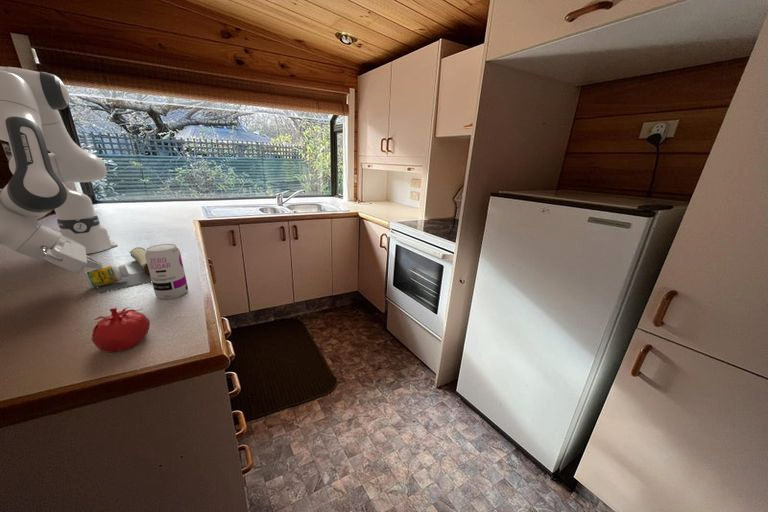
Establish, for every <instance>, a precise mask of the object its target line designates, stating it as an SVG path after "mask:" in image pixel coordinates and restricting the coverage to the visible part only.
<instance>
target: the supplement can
mask: <svg viewBox="0 0 768 512" xmlns="http://www.w3.org/2000/svg"><path fill="white" fill-rule="evenodd" d="M145 250H146V253H145V257H146V261H147V265H148V269H149V273H150V276H151V280H152V282H151V283H152V288H153V291H154V294H155V297H156V298H159V299H160V300H171V299H172V298H173V299H176V297H177V298H179V297H178V296H180V297H182V296H184V295H185V294H186V293H187V292H188V290H189V287H188V283H187V281H188V280H187V278H186V271H185V267H184V264H183V259H182V253H181V250H180V249H179V247H178V246H177V245H176V244H173V243H163V244H156V245H152V246H149V247H147V248H146V249H145ZM185 292H186V293H185ZM184 293H185V294H184ZM183 294H184V295H183ZM181 295H182V296H181Z"/></svg>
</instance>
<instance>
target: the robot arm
mask: <svg viewBox="0 0 768 512" xmlns="http://www.w3.org/2000/svg"><path fill="white" fill-rule="evenodd" d="M69 103H70V93H69V90H68V88H67V86H66V85H65V84H64V83H63V81H62V80H61V79H60V77H58V76H57V75H55V74H52V73H48V72H45V71H35V70H30V69H26V68H20V67H14V66H13V67H12V66H0V140H1V141H4V142H7V143H8V145H9V148H10V153H11V155H12V156H11V158H10V159H9V162H8V167H9V170H10V172H11V174H12V176H11V178H10V179H9V180H8V183H7V184H6V185H5V186H4V187H3V188H0V245H2V246H3V247H4V246H5V247H6V248H9V249H10V250H12V251H14V252H16V253H18V254H22V255H24V256H26V257H30V258H32V259H35V260H40V259H42V258H45V260H46V261H47V262H48V263H50V264H53V265H54V266H55V265H56V266H58V267H60V268H62V269H65V270H68V271H70V272H73V273H80V272H82V270H83V269H84V268H90V269H92V270H100V269H101V268H103V264H102V262H101V261H98V260H96V259H94V258H93V257H92V256H89V254H95V253H99V252H103V251H105V250H109V249H111V248H114V247H118V244H117V242H115V241H113V240H111V239H110V235H109V234H108V230H107V228H106V227H104V226H102V225H101V224H100V218H99V217H98V215H97V214H96V212H95V208H94V205H93V201H92V199H91V198H90V196H88V195H87V194H85V193H83V192H80V191H76V190H72V189H70V188H68V187H67V186H66V183H91V182H96V181H102V180H104V178H105V177H106V176H107V171H108V170H107V166H106V164H105V162H104V161H103V160H102V159H101V158H100V157H98V156H96V155H94V154H93V153H90V152H88V151H86V150H84V149H83V148H82V147H81V146H79V145H78V144H77V143H76V142H75V141H74V140H73V138H72V137H71V136H70V134H69V132H68V131H67V128H66V125H65V123H64V121H63V119H62V116H61V114H60V112H59V111H60V110H64V109H66V108H68V106H69ZM49 152H50V153H49ZM52 211H54V212H55V214H56V215H55V216H56V217H57V219H56V221H57V222H56V223H57V225H58V228H59V229H60V230H57V229H55V228H50V227H48V226H46V225H43V224H41V223H39V222H38V220H39V219H41V218H43V217H45V216H47V215H48V214H49V213H51V212H52Z"/></svg>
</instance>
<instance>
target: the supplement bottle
mask: <svg viewBox="0 0 768 512" xmlns="http://www.w3.org/2000/svg"><path fill="white" fill-rule="evenodd" d="M129 275H130V274H129V271H128V269H127V266H126V264H121V265H118V266H117V265H115V264H113V265H112V264H111V265H109V266H105V267H102V268H101V269H100V270H96V269H92V270H89V271H85V272H84V278H85V280H86V282H87V284H88V286H89V287H90V289H96V288H98V287H100V286H103V285H107V284H110V283H114V282H117V281H120V280H121V279H122V277H127V276H129Z"/></svg>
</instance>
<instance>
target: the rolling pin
mask: <svg viewBox="0 0 768 512" xmlns="http://www.w3.org/2000/svg"><path fill="white" fill-rule="evenodd" d="M146 251H147V250H146V249H145V248H143V247H134V248H132V249H131V250H130V251H128V252H129V254H130V257H131V258H132V259H134V260H135V261H136V262H138V264H139V265H140V266H141V267H142V269H143V272H145V273H146V275H149V276H150V273H149V269H148V265H147V261H146V257H145V253H146Z"/></svg>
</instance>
